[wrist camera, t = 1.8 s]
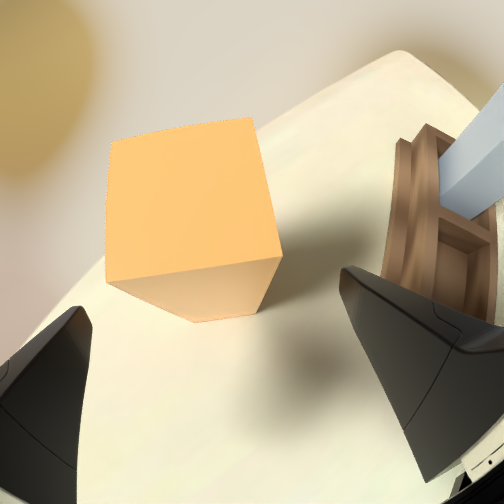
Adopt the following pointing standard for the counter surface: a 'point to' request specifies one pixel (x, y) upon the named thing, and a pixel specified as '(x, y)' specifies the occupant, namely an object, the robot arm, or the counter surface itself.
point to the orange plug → (191, 220)
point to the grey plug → (475, 163)
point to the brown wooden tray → (438, 235)
